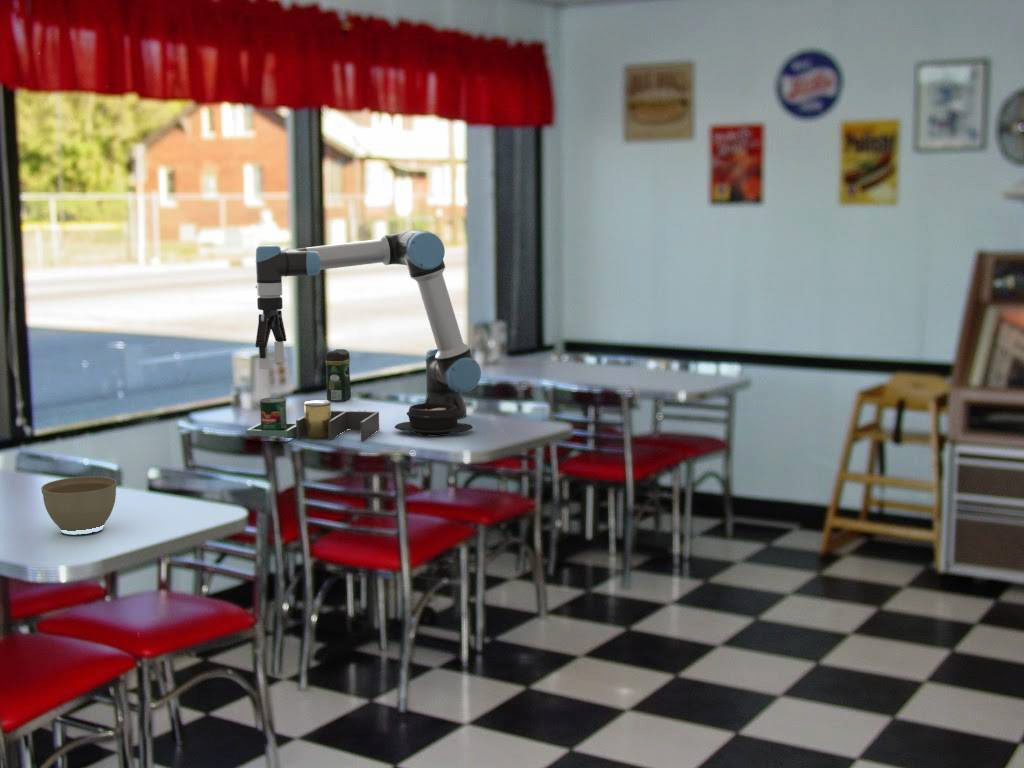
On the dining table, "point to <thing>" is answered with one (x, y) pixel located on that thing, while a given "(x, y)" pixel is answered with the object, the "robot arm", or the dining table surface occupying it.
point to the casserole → (433, 419)
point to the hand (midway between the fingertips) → (272, 365)
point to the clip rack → (346, 423)
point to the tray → (274, 431)
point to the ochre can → (317, 419)
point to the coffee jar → (338, 375)
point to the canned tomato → (273, 414)
